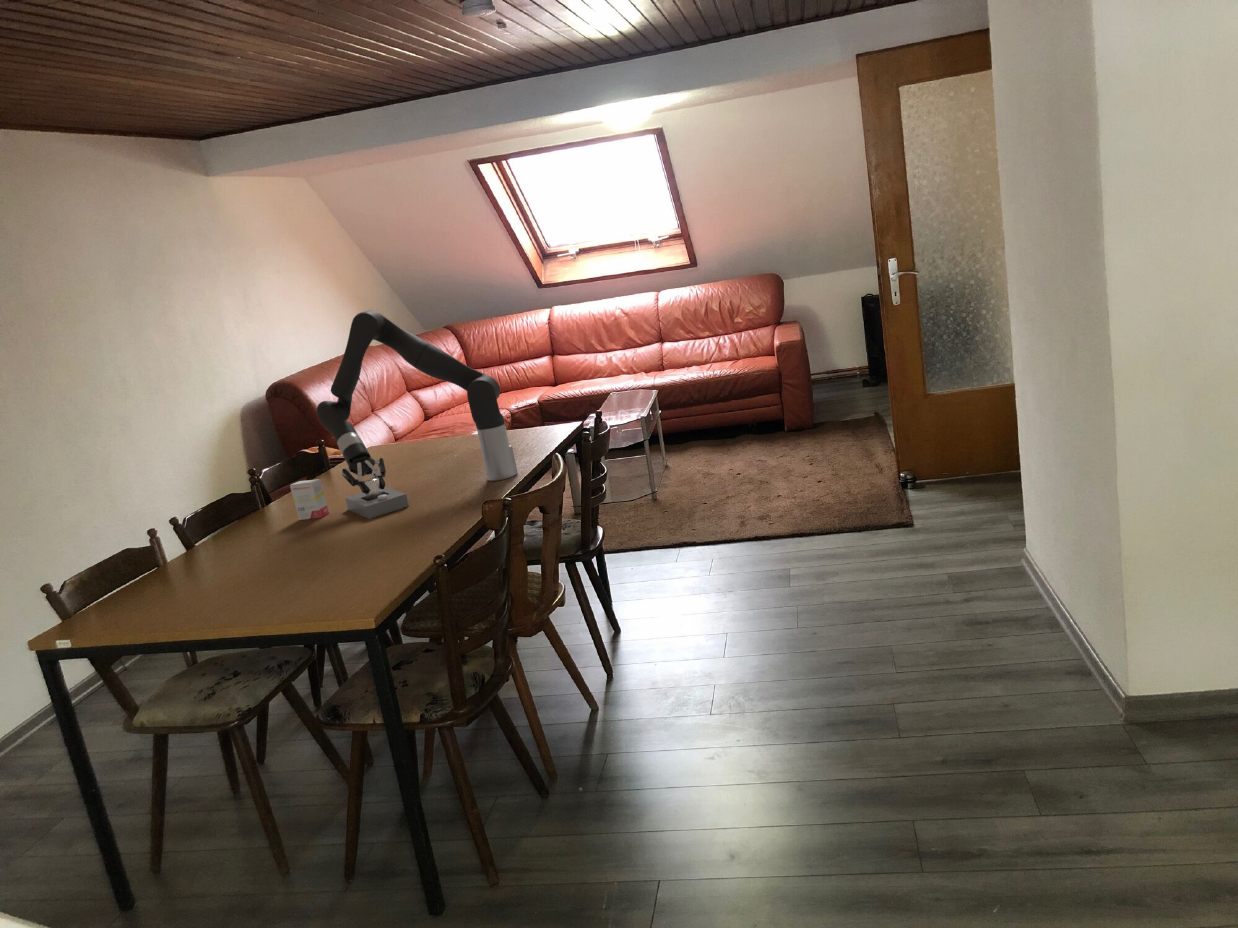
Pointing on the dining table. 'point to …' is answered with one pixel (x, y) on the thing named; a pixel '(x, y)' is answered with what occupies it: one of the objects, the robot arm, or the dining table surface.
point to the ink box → (309, 499)
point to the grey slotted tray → (377, 503)
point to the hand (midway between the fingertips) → (375, 489)
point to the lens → (373, 488)
